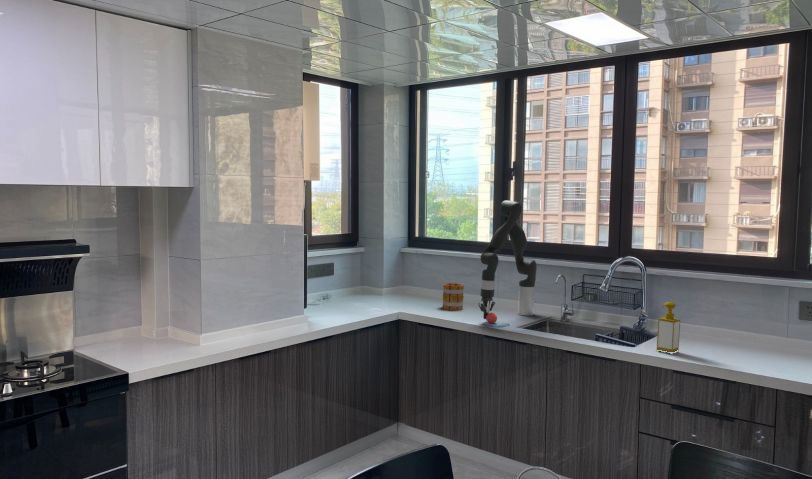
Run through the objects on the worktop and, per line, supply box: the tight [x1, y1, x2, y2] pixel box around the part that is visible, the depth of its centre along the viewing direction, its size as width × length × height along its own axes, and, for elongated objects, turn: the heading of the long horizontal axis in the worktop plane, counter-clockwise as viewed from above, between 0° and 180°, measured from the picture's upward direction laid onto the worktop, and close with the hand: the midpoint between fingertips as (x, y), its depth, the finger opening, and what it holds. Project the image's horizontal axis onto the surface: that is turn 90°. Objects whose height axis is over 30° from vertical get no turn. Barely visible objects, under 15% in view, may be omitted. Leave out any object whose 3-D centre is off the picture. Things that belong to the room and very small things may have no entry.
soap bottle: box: [656, 301, 681, 352], centre depth 281 cm, size 7×13×24 cm, turn 134°
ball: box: [485, 312, 498, 323], centre depth 336 cm, size 6×6×6 cm
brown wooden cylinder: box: [441, 282, 465, 311], centre depth 382 cm, size 20×14×15 cm
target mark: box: [483, 320, 510, 328], centre depth 335 cm, size 14×14×1 cm
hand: (485, 318), depth 339 cm, fingers closed
